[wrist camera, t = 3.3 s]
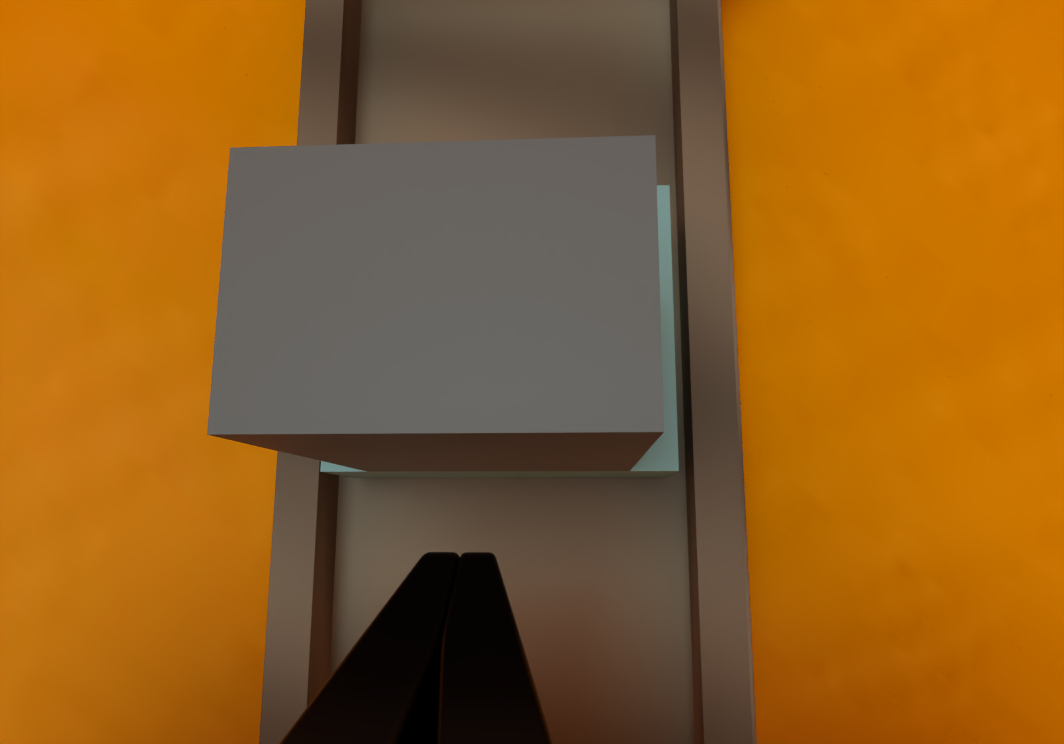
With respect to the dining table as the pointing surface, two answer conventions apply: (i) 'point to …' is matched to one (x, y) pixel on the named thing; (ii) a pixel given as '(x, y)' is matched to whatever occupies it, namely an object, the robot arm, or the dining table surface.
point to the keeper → (450, 308)
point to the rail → (545, 503)
